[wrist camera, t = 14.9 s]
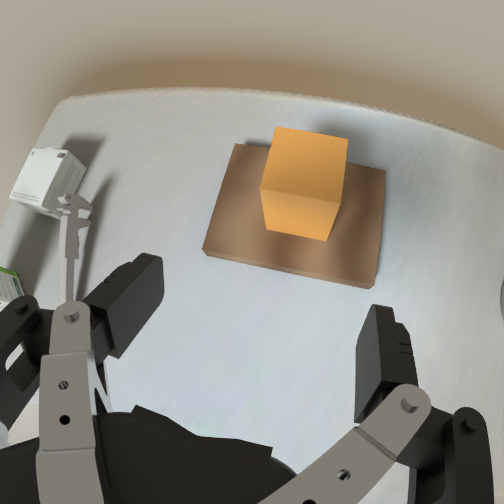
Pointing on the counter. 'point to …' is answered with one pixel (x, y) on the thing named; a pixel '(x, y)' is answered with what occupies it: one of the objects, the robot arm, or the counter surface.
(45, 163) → the small box
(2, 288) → the syrup box
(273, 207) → the orange rectangular block
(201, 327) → the counter surface
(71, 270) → the caliper
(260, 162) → the board
